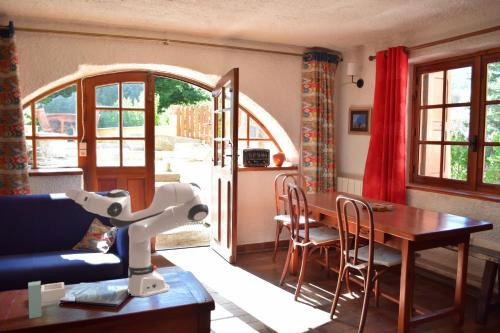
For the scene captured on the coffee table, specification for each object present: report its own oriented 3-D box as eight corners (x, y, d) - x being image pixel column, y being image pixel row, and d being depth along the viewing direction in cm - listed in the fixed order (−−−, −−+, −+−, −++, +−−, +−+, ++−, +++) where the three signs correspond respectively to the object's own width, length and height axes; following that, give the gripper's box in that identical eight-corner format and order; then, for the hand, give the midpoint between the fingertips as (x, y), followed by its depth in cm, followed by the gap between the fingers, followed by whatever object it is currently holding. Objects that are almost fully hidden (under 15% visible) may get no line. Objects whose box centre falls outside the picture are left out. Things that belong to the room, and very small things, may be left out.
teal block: (41, 312, 196) (40, 281, 195) (41, 316, 192) (40, 284, 191) (29, 314, 194) (28, 282, 193) (29, 318, 190) (28, 286, 189)
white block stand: (73, 290, 225) (72, 278, 225) (76, 302, 209) (75, 289, 209) (31, 296, 216) (30, 284, 216) (30, 309, 200) (30, 295, 200)
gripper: (111, 204, 208) (93, 199, 215) (80, 188, 191) (62, 183, 199) (105, 216, 206) (88, 210, 213) (74, 201, 190) (56, 195, 197)
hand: (75, 197), depth 206 cm, fingers open, 8 cm apart
